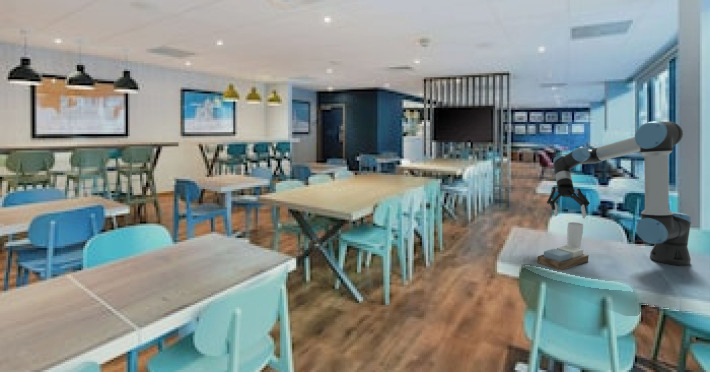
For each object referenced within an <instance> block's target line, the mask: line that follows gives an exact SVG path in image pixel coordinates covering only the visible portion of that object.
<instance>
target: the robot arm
mask: <svg viewBox="0 0 710 372" xmlns="http://www.w3.org/2000/svg"><path fill="white" fill-rule="evenodd" d="M683 137H684V132H683V128H682V126H680V125H679V124H678V123H676V122H673V121H661V120H660V121H658V120H657V121H656V120H655V121H649V122H645V123H643V124H641V125H640V126H639V127H638V128H637V130H636V131H635V134H634V136H633V137H629V138H626V139H622V140H620V141H615V142H612V143H609V144H605V145H602V146H598V147H595V148H592V149H588V148H586V147H584V146H579V147H577V148H575V149H573V150H572V151H571V152H569V153H568V154H566V155H565V154H559V155H557V156H555V157H553V160H552V161H553V169H554V173H555V175H554V176H555V181H556V186H553V187H552V189H551V193H550V195H549V197H548V199H547V201H546V204H548V205H550V207H551V211H553V214H554V215H553V216H554V217H557V216H558V215H559V212H558V206H557V202H558V200H559V199H560V198H561V197H563V198H571V199H573V200H574V201H575V202H577V204H578V205H580V210H581V216H582V219H586V218H587V211H588V208H587V207H589V205H590V204H591V203H590V202H589V200H588V199H587V198H586V196H585V194H584V193H582V190H581V188H577V189H575V188H574V183H573V179H572V178H573V177H572V173H571V172H572V171H571V170H572V169H574V168H575V167H577V166H579V165H587V164H589V165H590V164H594V165H595V164H599V163H601V162H603V161H607V160H610V159H615V158H620V157H623V156H627V155H630V154H634V153H638V152H639V153H640V154H641V155H642V156H643V157H644V160H643V161H644V165H643V166H644V209H643V210H642V211H641V212H640V220H638V222H637V223H636V227H635V231H636V234H637V236H638V237H639V238H640V239H641V240H642V241H644V242H646V243H648V244H652V245H653V244H654V245H653V247H652V249H651V251H650V253H649V258H650V260H653V261H655V262H659V263H662V264H665V265H666V264H667V265H672V266H689V265H690V264H691V261H692V259H691V255H690V251H689V248H688V247H689V246H688V244H689V236H690V232H691V231H690V229H691V224H692V221H691V220H692V217H691V215H689V214H688V213H681V212H676V211H671V210H670V205H669V203H670V200H669V197H670V196H669V194H670V193H669V183H670V182H669V155H671V153H672V152H673V151H674V150H673V148H674V147H675V146H676V145H678V144H679V143H680V142H681V141H682V139H683ZM555 193H558V195H556V197H555V198H553V197H554V195H555ZM552 199H553V200H552Z"/></svg>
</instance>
